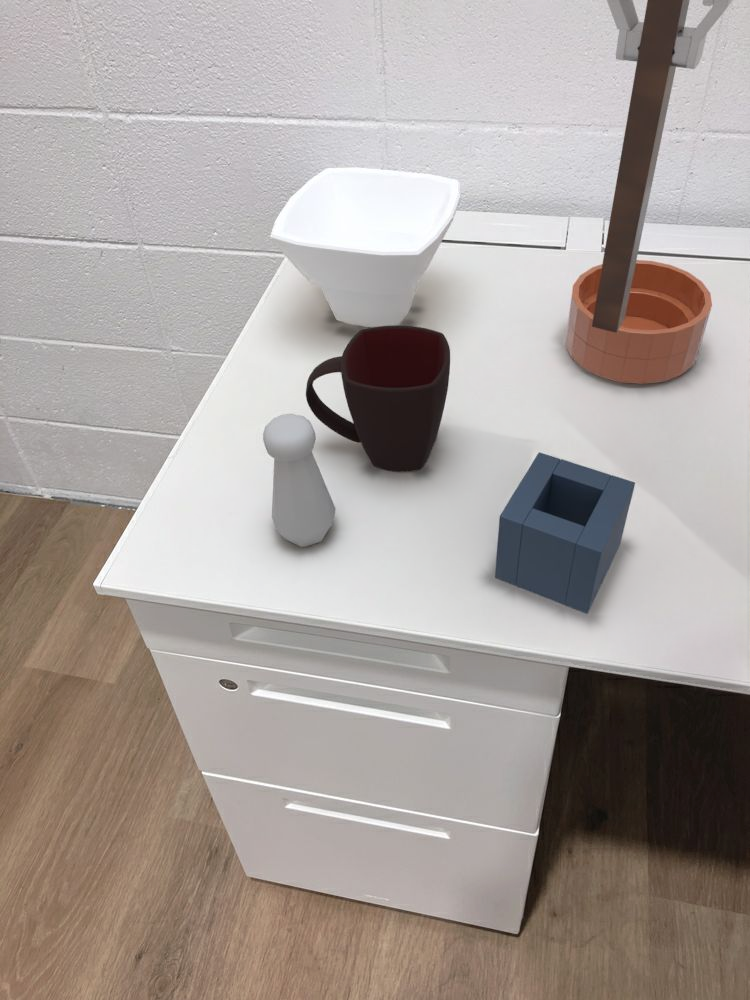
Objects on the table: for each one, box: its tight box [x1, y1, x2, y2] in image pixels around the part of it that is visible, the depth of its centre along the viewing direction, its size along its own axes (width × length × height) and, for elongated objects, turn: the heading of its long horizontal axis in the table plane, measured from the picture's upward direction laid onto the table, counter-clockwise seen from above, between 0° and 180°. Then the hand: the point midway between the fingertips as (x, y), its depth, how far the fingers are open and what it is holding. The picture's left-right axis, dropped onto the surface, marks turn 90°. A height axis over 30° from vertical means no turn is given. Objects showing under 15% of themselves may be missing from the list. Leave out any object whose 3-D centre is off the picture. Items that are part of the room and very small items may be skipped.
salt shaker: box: [262, 413, 336, 548], centre depth 70 cm, size 6×6×13 cm
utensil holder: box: [494, 451, 636, 614], centre depth 68 cm, size 8×8×8 cm
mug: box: [305, 324, 451, 473], centre depth 77 cm, size 10×14×12 cm
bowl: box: [269, 166, 461, 328], centre depth 94 cm, size 19×19×14 cm
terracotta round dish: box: [565, 259, 713, 385], centre depth 89 cm, size 14×14×7 cm
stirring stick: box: [592, 0, 690, 333], centre depth 55 cm, size 2×2×24 cm
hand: (657, 61), depth 49 cm, fingers closed on stirring stick, 2 cm apart
